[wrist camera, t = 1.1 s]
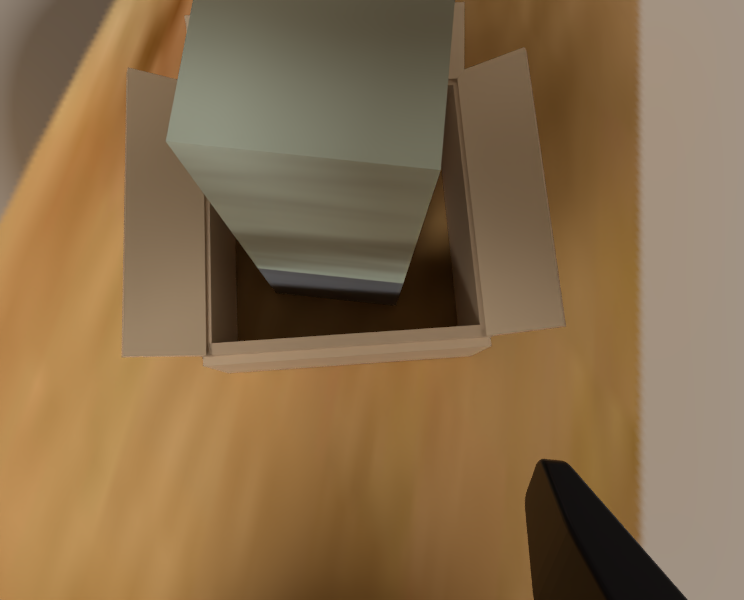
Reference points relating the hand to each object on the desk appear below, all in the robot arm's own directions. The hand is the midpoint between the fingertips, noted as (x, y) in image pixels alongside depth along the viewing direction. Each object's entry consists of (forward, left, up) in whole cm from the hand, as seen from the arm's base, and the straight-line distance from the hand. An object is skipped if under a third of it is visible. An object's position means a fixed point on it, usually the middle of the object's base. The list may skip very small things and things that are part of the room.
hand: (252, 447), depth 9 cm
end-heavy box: (+7, -1, -13) cm, 15 cm away
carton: (+7, -1, -13) cm, 15 cm away
